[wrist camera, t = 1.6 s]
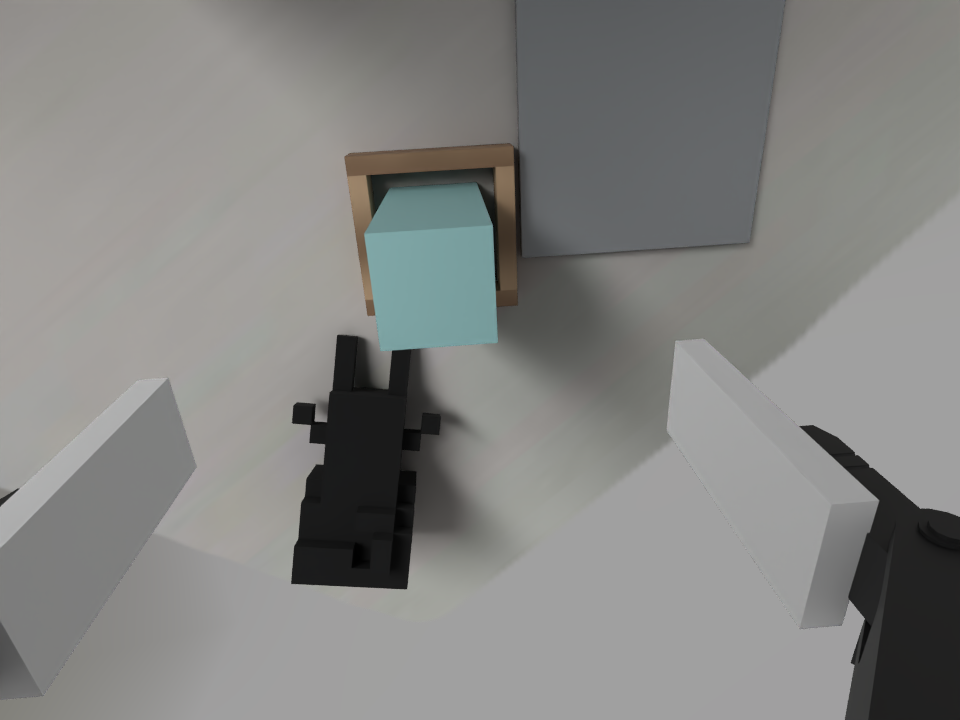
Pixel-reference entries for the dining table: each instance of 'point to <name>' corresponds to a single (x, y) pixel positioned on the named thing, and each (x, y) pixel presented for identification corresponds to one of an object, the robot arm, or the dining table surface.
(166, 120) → the dining table surface
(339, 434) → the toy
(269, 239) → the dining table surface
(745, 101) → the pad
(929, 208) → the dining table surface
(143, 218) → the dining table surface
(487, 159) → the wooden square frame
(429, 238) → the block
